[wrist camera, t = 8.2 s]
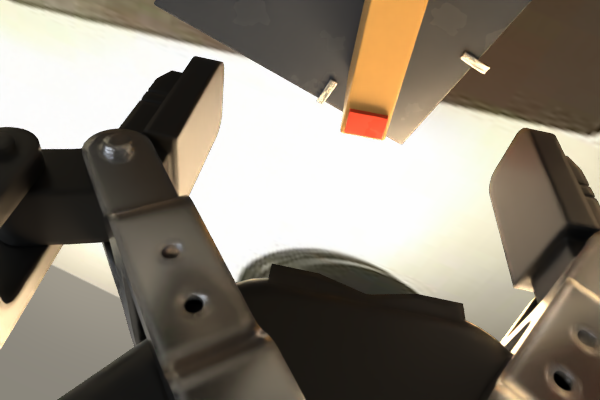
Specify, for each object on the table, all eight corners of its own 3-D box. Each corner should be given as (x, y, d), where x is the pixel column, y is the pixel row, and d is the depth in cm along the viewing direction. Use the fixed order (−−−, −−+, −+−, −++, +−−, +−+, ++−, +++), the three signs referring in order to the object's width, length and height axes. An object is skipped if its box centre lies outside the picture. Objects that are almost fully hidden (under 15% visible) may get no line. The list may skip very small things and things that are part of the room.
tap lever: (385, -95, 17) (384, -61, 13) (432, -86, 17) (445, -49, 13) (348, 75, 22) (339, 136, 18) (384, 81, 22) (384, 144, 18)
